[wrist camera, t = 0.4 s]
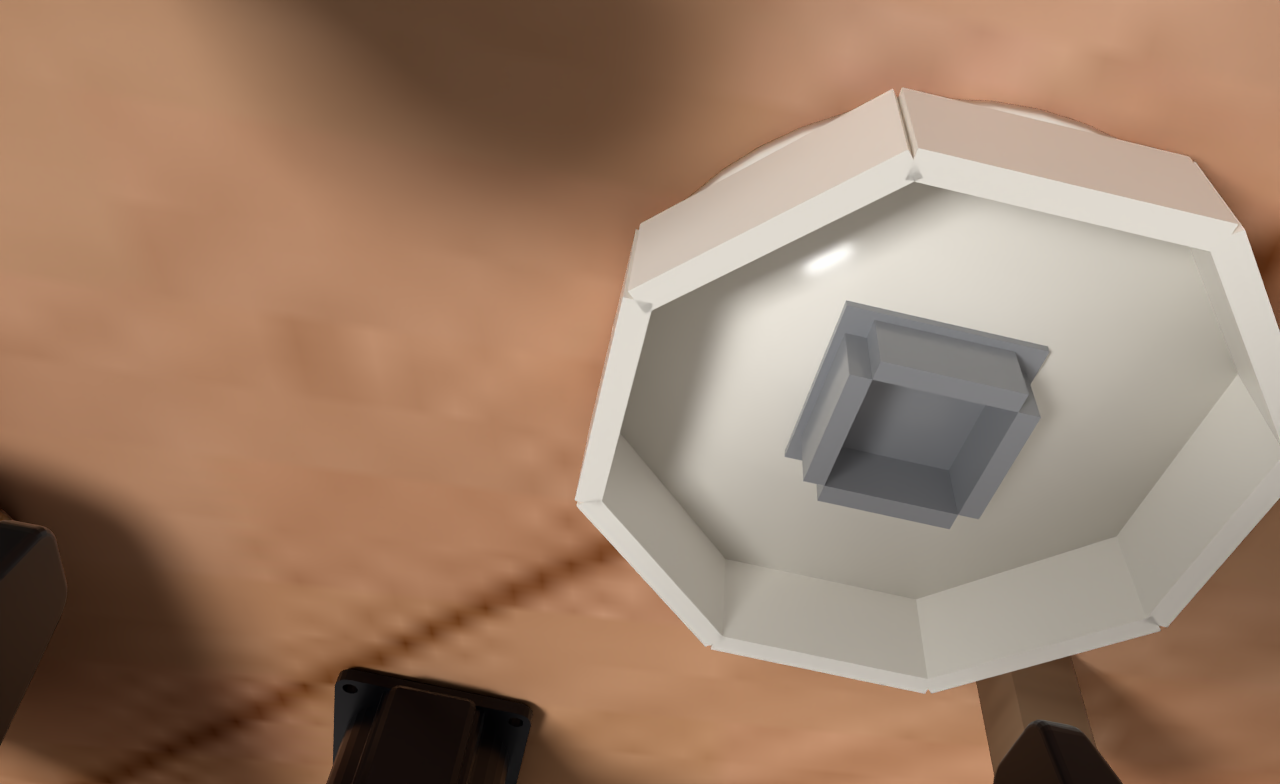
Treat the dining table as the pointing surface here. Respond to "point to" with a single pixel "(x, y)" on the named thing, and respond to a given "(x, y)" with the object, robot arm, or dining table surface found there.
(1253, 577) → the dining table surface
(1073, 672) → the tall wooden post
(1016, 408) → the octagonal white tray
